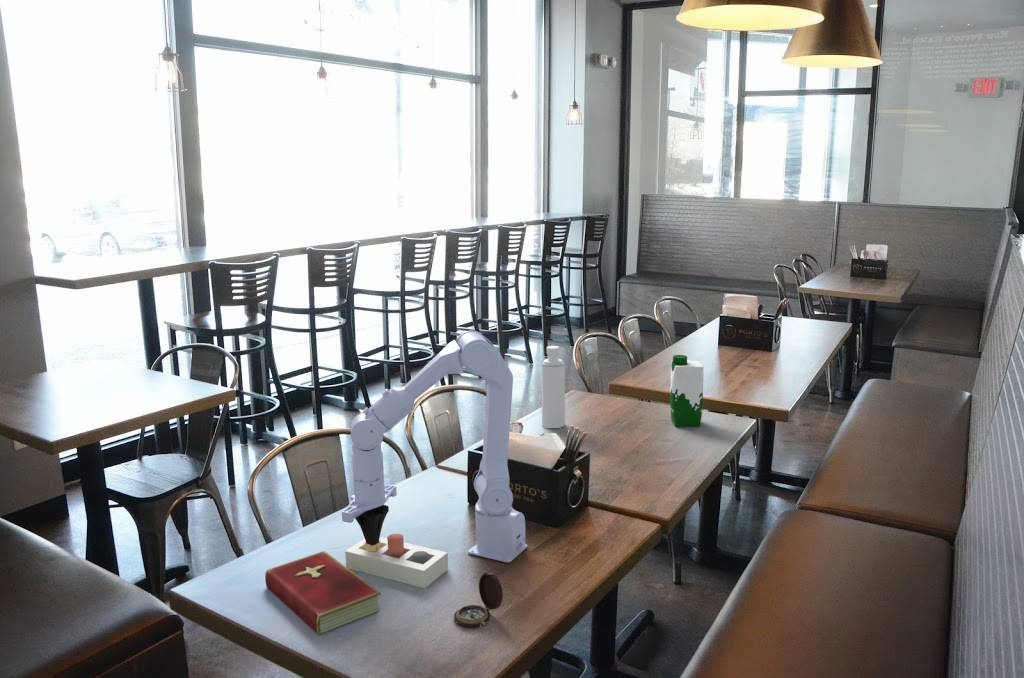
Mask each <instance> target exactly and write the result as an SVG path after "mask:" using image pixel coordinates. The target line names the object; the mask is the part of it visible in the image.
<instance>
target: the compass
mask: <svg viewBox="0 0 1024 678" xmlns="http://www.w3.org/2000/svg"><path fill="white" fill-rule="evenodd" d="M478 593H479V596H480V597H479V598H480V599H481V601H482V603H483V605H484V606H482V605H477V604H467V605H464V606H463V607H461V608H459V609H457V610H456V612H455V613H454V615H453V620H454V623H455V624H456V625H458V626H459V627H462V628H464V629H478V628H481V629H484V630H487V629H489V628H491V627H492V623H490V620H491V613H490V611H491V610H497V609H499V608H500V607H501V605H502V603H503V598H504V597H503V596H504V593H503V587H502V584H501V582H500V579H499V578H498V576H497V575H496V574H495V573H494V572H491V571H489V572H485V573H482V574H481V576H480V577H479V582H478ZM487 624H489V626H488V627H485V626H486V625H487Z"/></svg>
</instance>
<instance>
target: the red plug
mask: <svg viewBox="0 0 1024 678" xmlns="http://www.w3.org/2000/svg"><path fill="white" fill-rule="evenodd" d="M386 538H387V540H388V556H391V557H395V558H400V557H401V556H403V555H404V542H405V541H404V535H403V534H402V533H401V534H400V533H392V534H390V535H388V536H387V537H386Z"/></svg>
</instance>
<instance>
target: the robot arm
mask: <svg viewBox="0 0 1024 678" xmlns="http://www.w3.org/2000/svg"><path fill="white" fill-rule="evenodd" d="M463 368H465V369H466V370H467V371H469V372H470V373H472V374H475V375H478V376H479V377H480V378H481V379H483V380H484V381H485V382H486V395H485V396H486V397H485V408H484V409H485V412H484V413H485V414H484V425H483V427H484V428H483V443H482V444H483V445H482V457H481V460H480V463H479V469H478V473H477V474H476V476H475V478H474V482H473V488H474V490H475V493H476V494H477V495H478V500H477V502H476V503H475V506H474V510H475V513H474V515H475V516H474V517H475V545H473V546H472V547H471V548H469V549H468V550H467V554H469V555H473V556H474V555H475V556H477V557H480V558H481V557H482V558H485V559H490V560H494V561H499V562H504V563H507V564H509V563H512V561H514V559H516V558H517V556H519V555H520V554H521V553H522V552H523V551H524V550H526V549H527V548H528V544H526V543H527V541H526V520H525V519H526V518H525V515H524V514H523V512H520V511H517V510H515V508H513V502H514V495H513V492H512V490H511V487H510V473H509V468H508V459H509V443H510V428H511V415H512V414H511V413H512V402H513V401H512V400H513V388H514V387H513V385H514V376H513V373H512V371H511V370H510V368H509V366H508V365H507V362H506V360H504V358H503V356H502V354H501V352H500V351H499V350H498V348H496V347H495V345H494V344H493V342H491V340H489V339H488V338H487V337H486V336H485V335H484V334H482V333H481V332H479V331H476V330H467V331H464V332H462V333H461V334H459V336H458V337H457V338H456V339H453V340H452V341H450V342H449V343H447V345H445V346H444V347H443V348H442V350H441V351H439V352H438V353H437V354H436V355H435V356H434V357H433V358H432V359H431V360H430V361H429V362H428V363H427V364H426V365H424V366H423V367H422V368H421V370H420V371H418V373H416V374H415V375H414V376H413V377H412V378H411V379H410V380H409V381H408V382H407V383H406V384H405V385H404V386H393V387H391V389H388V388H385V389H384V390H383V391H382V392H381V394H382V396H381V397H380V398H379V399H378V400H377V401H376V402H374V403H373V404H371V406H370V407H369V408H368V406H366V407H365V408H364V409H363V413H359V414H357V415H356V416H355V417H354V418H353V419H352V421H351V424H350V426H349V431H350V438H351V442H352V446H351V448H352V454H351V456H352V457H351V458H352V474H353V491H354V494H352V495H351V496H350V503H349V504H348V505H347V507H346V508H345V509H343V510H342V511H341V520H342V522H346V523H348V524H351V523H353V522H354V521H355V520H356V522H357V523H358V525H359V528H360V529H361V532H362V534H363V537H364V538H363V539H365V541H366V543H367V544H371V545H376V544H377V543H379V538H380V537H381V532H382V528H383V524H384V522H385V519H386V517H387V515H388V513H389V511H390V509H389V506H388V505H386V503H387V502H388V500H389V498H391V497H392V498H395V497H396V496H397V495H398V494H397V486H396V485H393V484H392V485H391V484H387V485H385V472H384V471H385V470H384V454H383V451H382V442H383V439H384V434H386V433H388V432H390V431H391V430H392V429H393V428H394V427H396V426H397V425H398V424H399V423H400V422H401V421H402V420H403V419H405V418H406V417H407V416H409V415H410V413H411V412H413V411H414V409H415V401H416V400H417V399H418V398H419V397H421V396H422V395H423V394H424V393H425V392H427V391H428V390H429V389H431V387H433V386H434V385H435V384H437V383H438V382H439V381H441V380H442V379H443V378H444V377H446V376H447V375H455V374H456V375H461V374H464V371H463Z"/></svg>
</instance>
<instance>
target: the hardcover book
mask: <svg viewBox="0 0 1024 678" xmlns="http://www.w3.org/2000/svg"><path fill="white" fill-rule="evenodd" d="M264 573H265V576H264V577H265V579H264V580H265V587H266V588H267V590H269V591H270V592H271V593H272V594H273V595H274V596H276V598H277V599H279V600H280V601H281V603H283V604H284V605H285V606H286V607H288V609H289V610H291V611H292V612H293V613H294V614H295V615H296V616H297V617H298V618H300V619H301V621H303V622H304V623H305V624H306V625H307V626H308V627H309V628H311V629H312V630H313V631H314V632H315V633H316V634H317V635H318V636H322V634H323V633H326V632H328V631H331V630H334V629H336V628H339V627H341V626H343V625H346V624H348V623H350V622H351V623H352V622H353V621H356V620H359V619H361V618H364V617H367V616H369V615H371V614H373V613H377V612H379V611H380V610H379V596H381V594H382V592H381V591H379V590H378V589H377V588H375V586H373V585H371V584H370V583H368V582H367V581H366V580H365V579H363V578H362V577H360V576H359V575H358V574H356V573H355V572H354V571H353V570H352V569H348V568H347V567H346V565H344V564H343V563H341V562H340V561H339V560H337V559H336V558H334V557H333V556H332V555H330V554H329V553H328V552H326V551H325V550H323V551H320V552H315V553H314V554H310V555H308V556H304V557H301V558H299V559H295V560H293V561H289V562H286V563H283V564H281V565H277V566H274V567H272V568H269V569H266V571H265V572H264Z"/></svg>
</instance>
